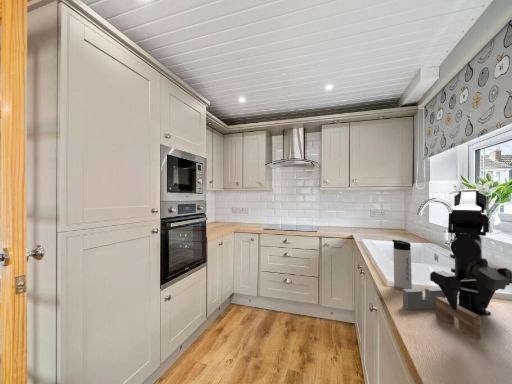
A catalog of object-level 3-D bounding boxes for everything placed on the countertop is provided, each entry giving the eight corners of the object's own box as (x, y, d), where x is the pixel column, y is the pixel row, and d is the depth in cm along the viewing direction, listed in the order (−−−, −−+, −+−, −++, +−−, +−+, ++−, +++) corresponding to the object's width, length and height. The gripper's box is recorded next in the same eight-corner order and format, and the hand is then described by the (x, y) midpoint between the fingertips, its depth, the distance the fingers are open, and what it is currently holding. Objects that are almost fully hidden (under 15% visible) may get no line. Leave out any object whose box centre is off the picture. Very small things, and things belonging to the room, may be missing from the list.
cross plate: (441, 315, 75) (441, 297, 75) (480, 338, 63) (480, 316, 63) (436, 315, 75) (435, 297, 75) (474, 338, 63) (473, 316, 63)
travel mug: (394, 284, 102) (393, 238, 102) (412, 287, 98) (410, 240, 98) (392, 288, 97) (391, 241, 97) (411, 292, 93) (410, 242, 93)
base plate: (439, 304, 83) (439, 287, 83) (445, 307, 80) (445, 290, 80) (402, 306, 82) (402, 289, 82) (407, 309, 79) (407, 292, 79)
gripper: (465, 262, 57) (467, 326, 56) (533, 259, 58) (535, 322, 58) (427, 251, 68) (429, 305, 68) (486, 249, 69) (487, 301, 69)
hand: (469, 308), depth 65 cm, fingers open, 9 cm apart
